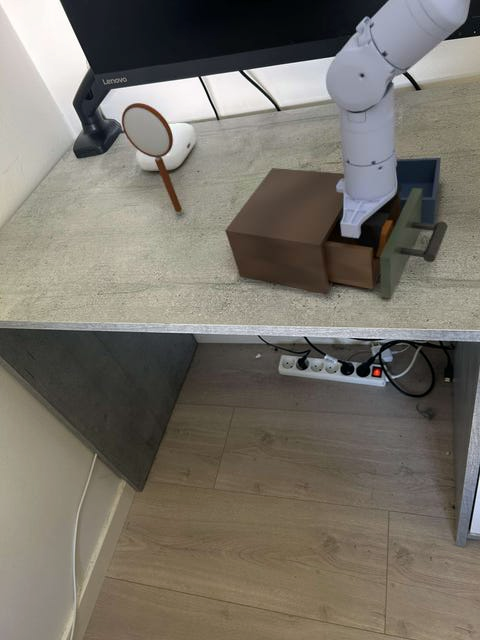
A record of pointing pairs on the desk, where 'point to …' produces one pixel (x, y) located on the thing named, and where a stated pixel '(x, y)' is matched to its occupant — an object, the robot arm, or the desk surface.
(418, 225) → the drawer
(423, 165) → the open box
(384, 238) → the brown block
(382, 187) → the robot arm
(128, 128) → the magnifying glass
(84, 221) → the desk surface
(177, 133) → the earbud case
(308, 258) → the cabinet
